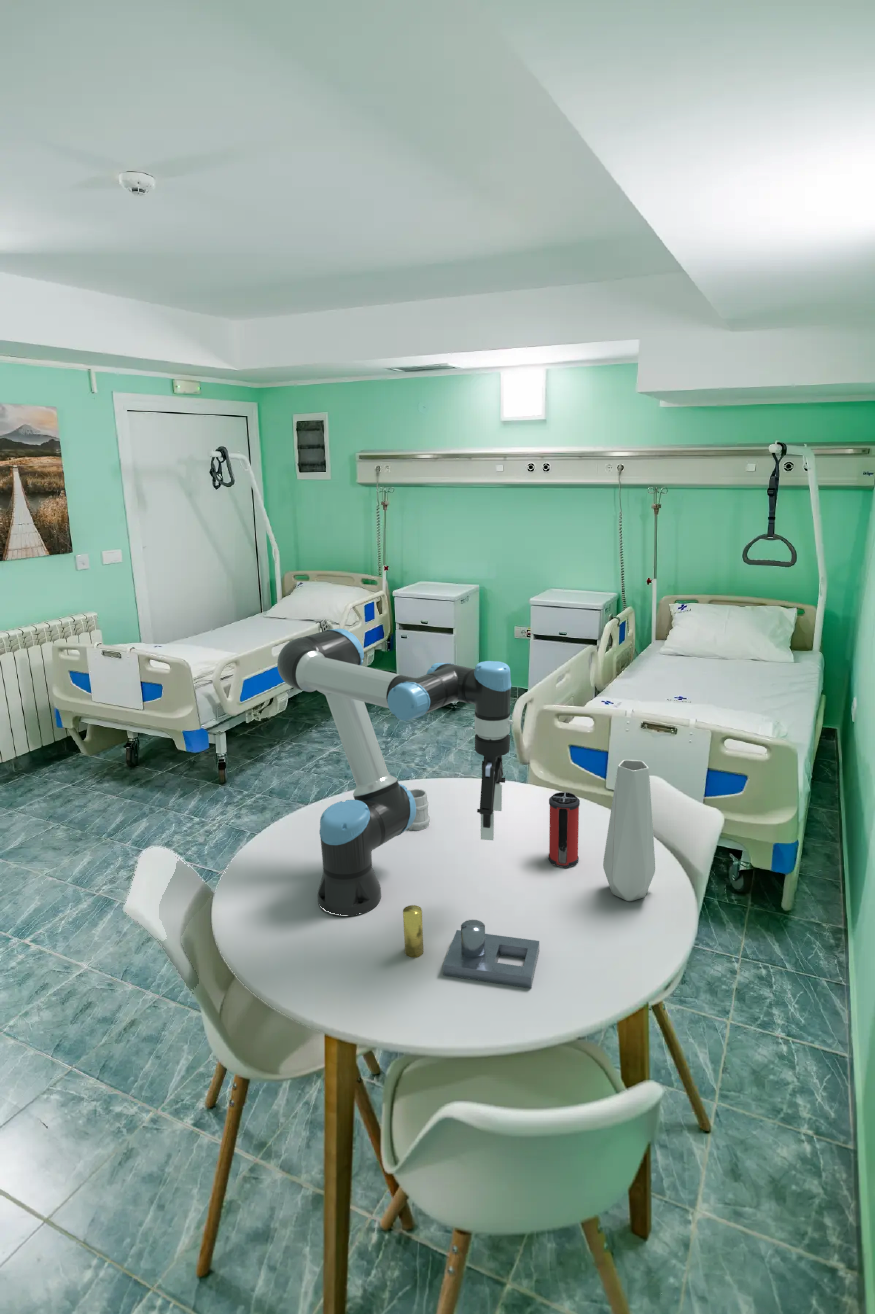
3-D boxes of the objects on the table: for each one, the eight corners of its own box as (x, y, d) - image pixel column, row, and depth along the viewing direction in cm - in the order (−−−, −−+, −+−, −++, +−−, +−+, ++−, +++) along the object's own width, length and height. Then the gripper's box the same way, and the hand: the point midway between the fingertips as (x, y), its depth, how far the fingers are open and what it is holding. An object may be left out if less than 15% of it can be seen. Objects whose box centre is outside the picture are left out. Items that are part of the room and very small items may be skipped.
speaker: (547, 866, 193) (547, 802, 189) (550, 852, 201) (550, 789, 196) (577, 869, 192) (578, 804, 187) (579, 854, 199) (580, 791, 194)
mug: (426, 832, 213) (424, 793, 210) (386, 828, 216) (384, 789, 213) (433, 820, 220) (431, 782, 217) (394, 816, 223) (392, 778, 220)
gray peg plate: (443, 975, 154) (442, 941, 152) (457, 939, 165) (456, 907, 163) (531, 988, 149) (531, 953, 147) (539, 951, 160) (539, 918, 158)
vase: (610, 874, 189) (614, 751, 181) (657, 886, 183) (663, 759, 175) (594, 898, 179) (597, 769, 171) (642, 911, 173) (648, 778, 165)
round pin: (402, 956, 160) (400, 914, 158) (408, 944, 164) (406, 904, 161) (420, 959, 159) (418, 917, 157) (425, 947, 163) (424, 906, 160)
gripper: (502, 757, 148) (501, 854, 154) (516, 715, 172) (514, 800, 177) (465, 755, 150) (465, 850, 155) (483, 713, 173) (483, 797, 179)
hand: (491, 824), depth 166 cm, fingers open, 13 cm apart
